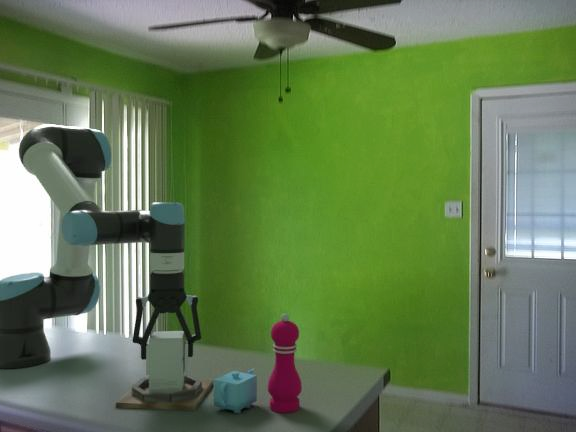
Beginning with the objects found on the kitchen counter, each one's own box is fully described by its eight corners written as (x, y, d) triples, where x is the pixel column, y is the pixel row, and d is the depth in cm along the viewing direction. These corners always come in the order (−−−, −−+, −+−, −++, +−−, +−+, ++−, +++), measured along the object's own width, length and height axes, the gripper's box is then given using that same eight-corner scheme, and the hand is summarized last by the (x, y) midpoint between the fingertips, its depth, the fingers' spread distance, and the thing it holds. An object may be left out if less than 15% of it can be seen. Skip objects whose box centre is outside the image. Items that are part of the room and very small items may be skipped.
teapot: (242, 395, 125) (242, 362, 125) (265, 400, 122) (265, 366, 122) (208, 412, 115) (209, 376, 114) (232, 418, 111) (232, 381, 111)
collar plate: (115, 407, 117) (115, 395, 117) (144, 381, 134) (143, 371, 134) (194, 410, 115) (194, 398, 115) (213, 384, 132) (213, 373, 132)
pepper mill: (266, 402, 121) (267, 310, 120) (299, 401, 121) (300, 310, 121) (268, 414, 113) (268, 317, 113) (303, 413, 114) (304, 316, 113)
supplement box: (182, 395, 122) (182, 337, 121) (148, 396, 121) (147, 338, 120) (185, 384, 129) (185, 330, 129) (152, 385, 128) (152, 330, 128)
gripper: (118, 274, 118) (118, 380, 119) (214, 272, 123) (214, 374, 123) (120, 270, 125) (121, 370, 126) (211, 268, 130) (211, 364, 131)
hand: (167, 372), depth 125 cm, fingers closed on supplement box, 8 cm apart
